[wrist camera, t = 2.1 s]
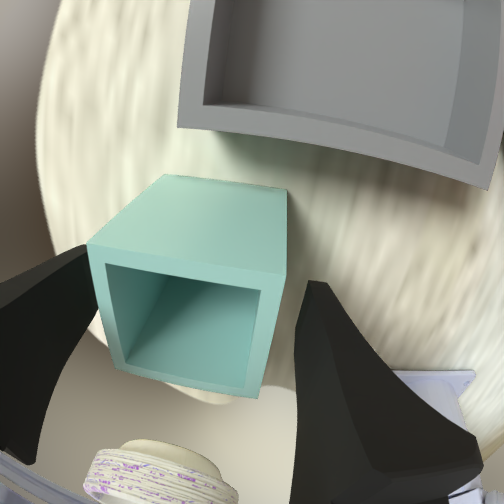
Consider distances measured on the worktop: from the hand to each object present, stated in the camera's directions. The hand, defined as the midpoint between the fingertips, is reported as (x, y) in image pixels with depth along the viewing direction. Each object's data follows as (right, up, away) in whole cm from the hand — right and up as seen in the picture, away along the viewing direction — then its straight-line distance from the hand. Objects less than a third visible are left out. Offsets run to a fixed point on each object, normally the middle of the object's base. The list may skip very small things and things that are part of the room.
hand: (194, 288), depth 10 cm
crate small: (0, +2, +3) cm, 4 cm away
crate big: (+6, +10, -2) cm, 11 cm away
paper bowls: (-7, -20, +17) cm, 28 cm away
